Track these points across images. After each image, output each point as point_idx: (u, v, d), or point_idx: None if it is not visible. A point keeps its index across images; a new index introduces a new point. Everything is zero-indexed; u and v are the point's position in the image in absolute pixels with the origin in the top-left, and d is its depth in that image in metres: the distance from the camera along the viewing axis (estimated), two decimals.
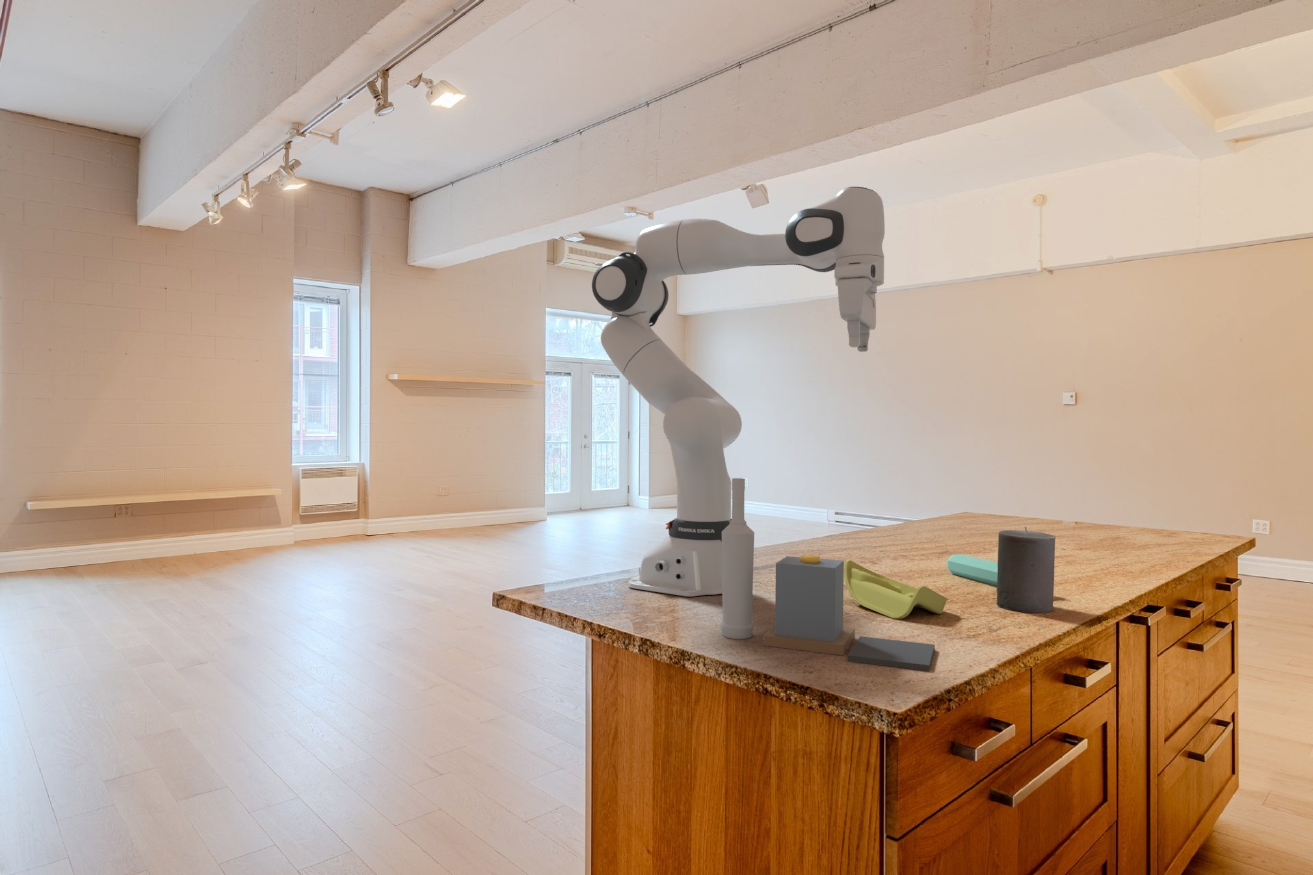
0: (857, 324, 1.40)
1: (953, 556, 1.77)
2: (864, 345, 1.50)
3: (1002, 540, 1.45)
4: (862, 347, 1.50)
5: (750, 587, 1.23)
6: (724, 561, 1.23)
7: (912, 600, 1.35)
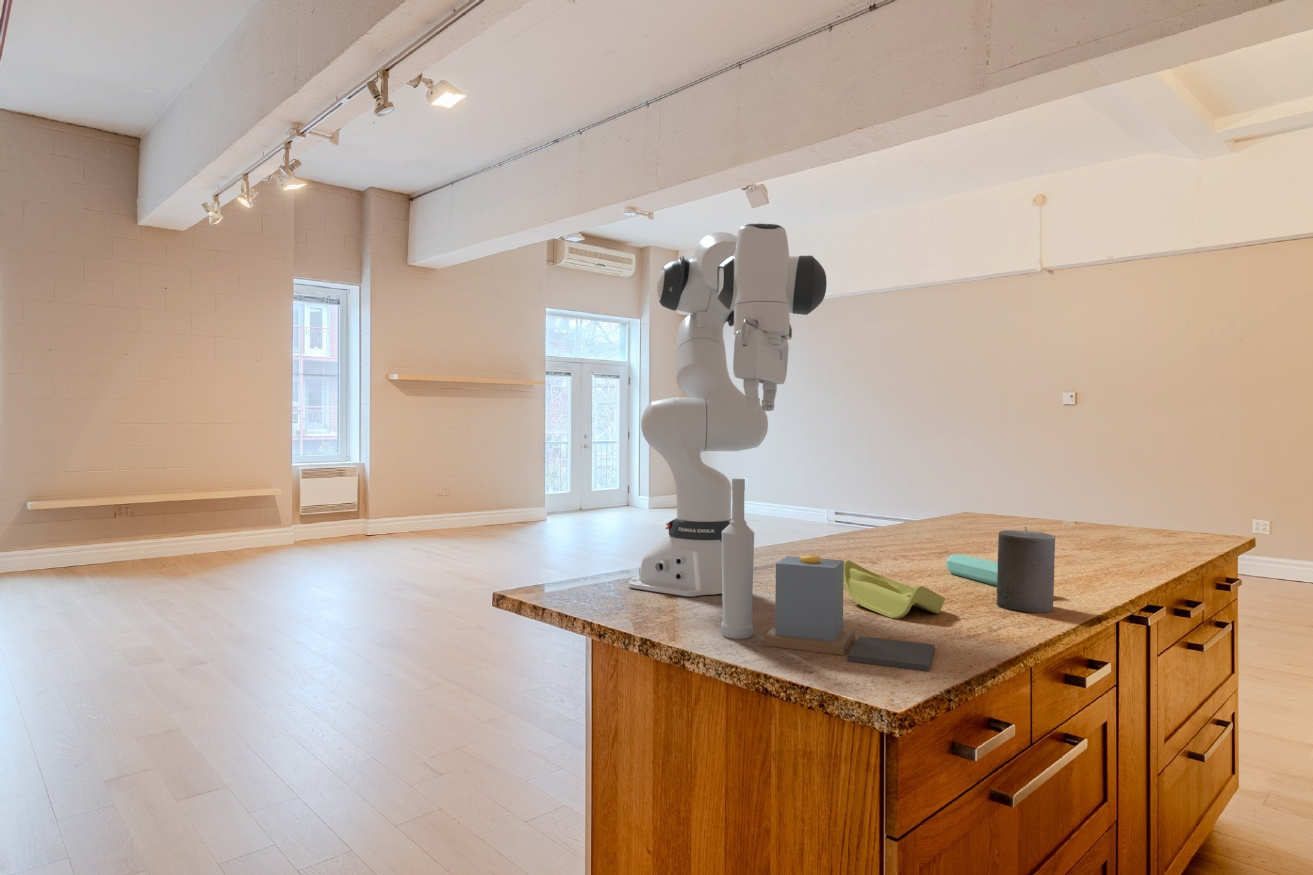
0: None
1: (952, 556, 1.76)
2: None
3: (1002, 540, 1.45)
4: None
5: (750, 587, 1.23)
6: (724, 561, 1.23)
7: (910, 600, 1.35)
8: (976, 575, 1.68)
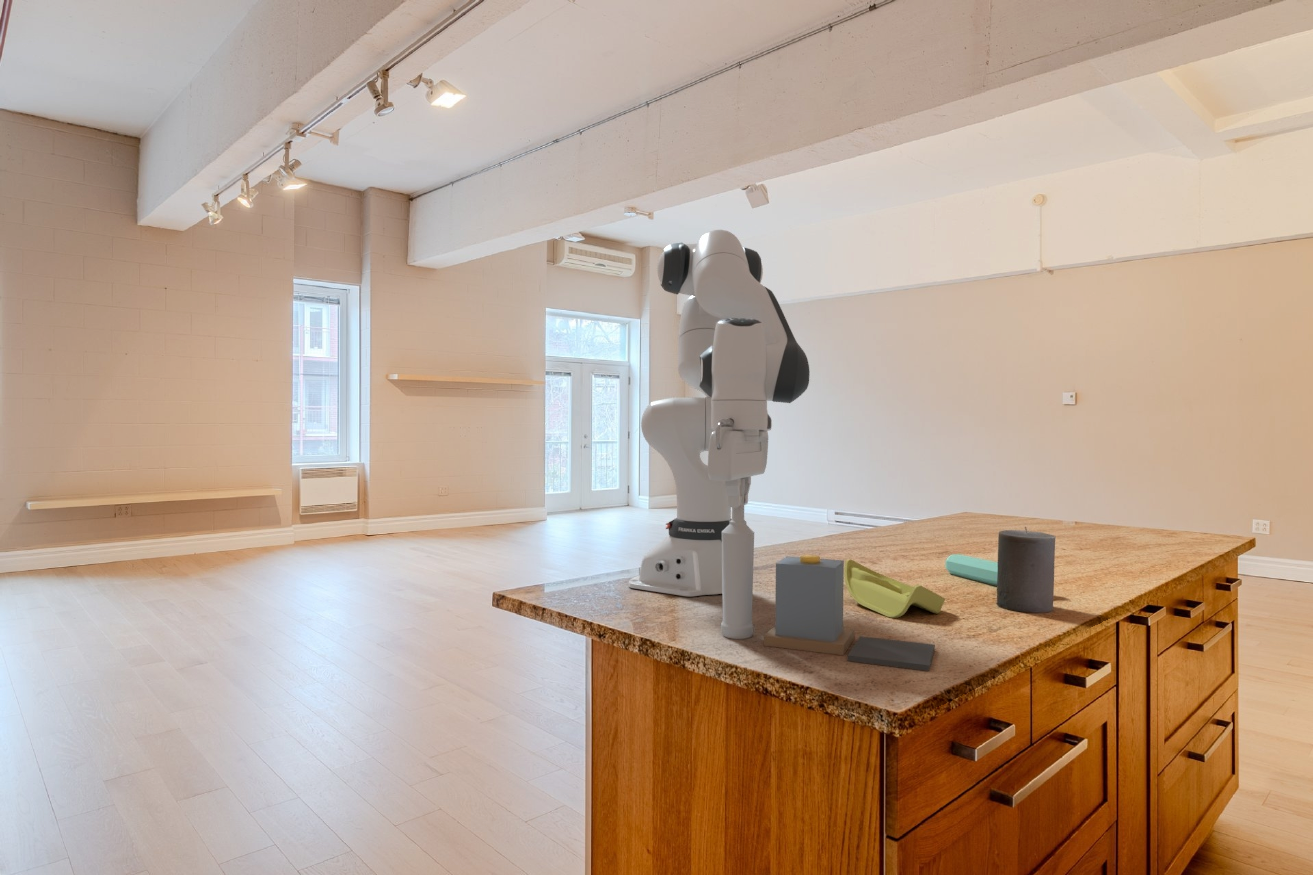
0: None
1: (951, 556, 1.76)
2: None
3: (1002, 540, 1.45)
4: None
5: (750, 587, 1.23)
6: (724, 561, 1.23)
7: (908, 599, 1.36)
8: (976, 575, 1.68)
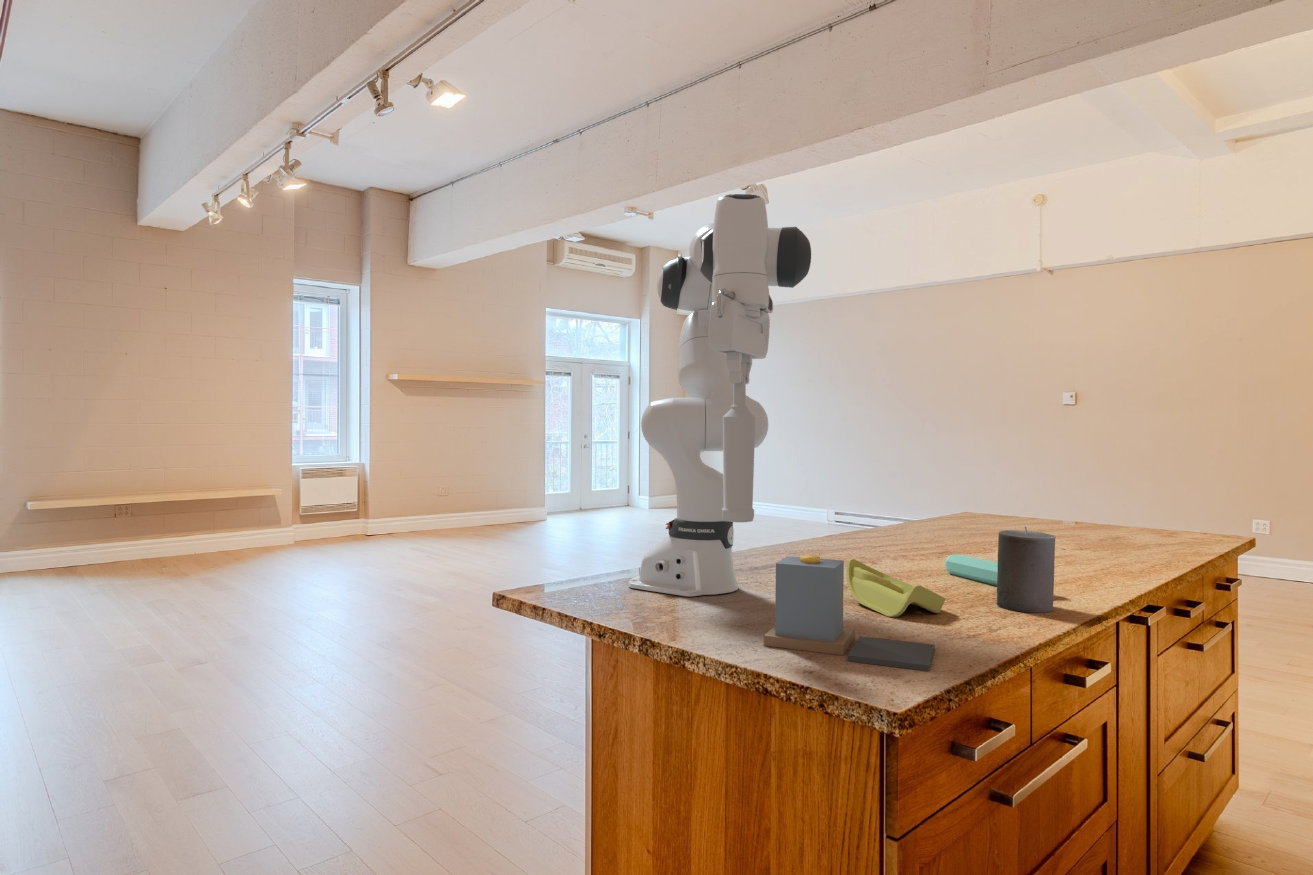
0: None
1: (951, 556, 1.76)
2: None
3: (1002, 540, 1.45)
4: None
5: (751, 471, 1.23)
6: (725, 445, 1.23)
7: (906, 599, 1.36)
8: (976, 575, 1.68)
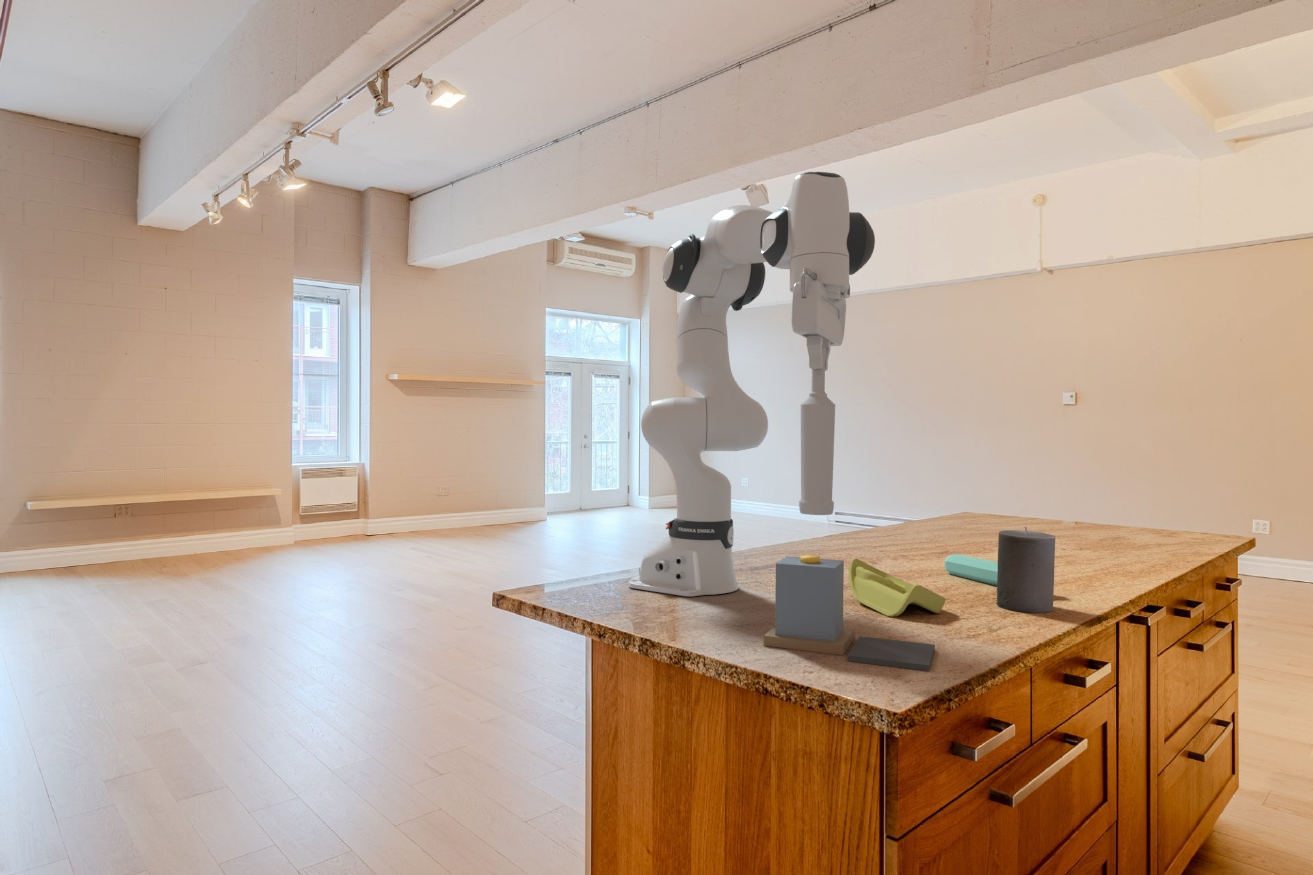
0: None
1: (951, 556, 1.76)
2: None
3: (1002, 540, 1.45)
4: None
5: (831, 461, 1.17)
6: (803, 434, 1.17)
7: (906, 598, 1.36)
8: (976, 575, 1.68)
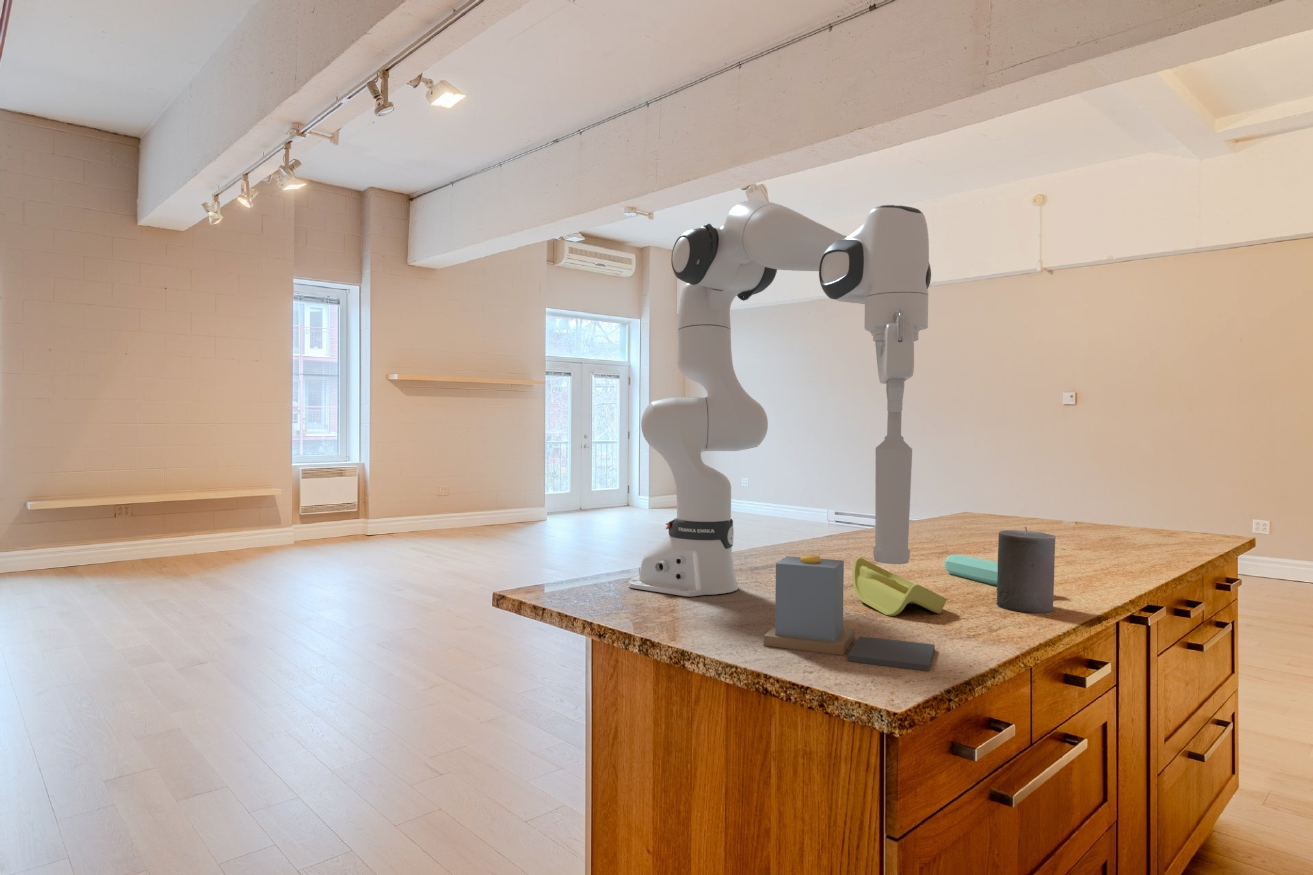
0: None
1: (951, 556, 1.76)
2: None
3: (1002, 540, 1.45)
4: None
5: (909, 508, 1.13)
6: (881, 480, 1.13)
7: (904, 598, 1.37)
8: (976, 575, 1.68)
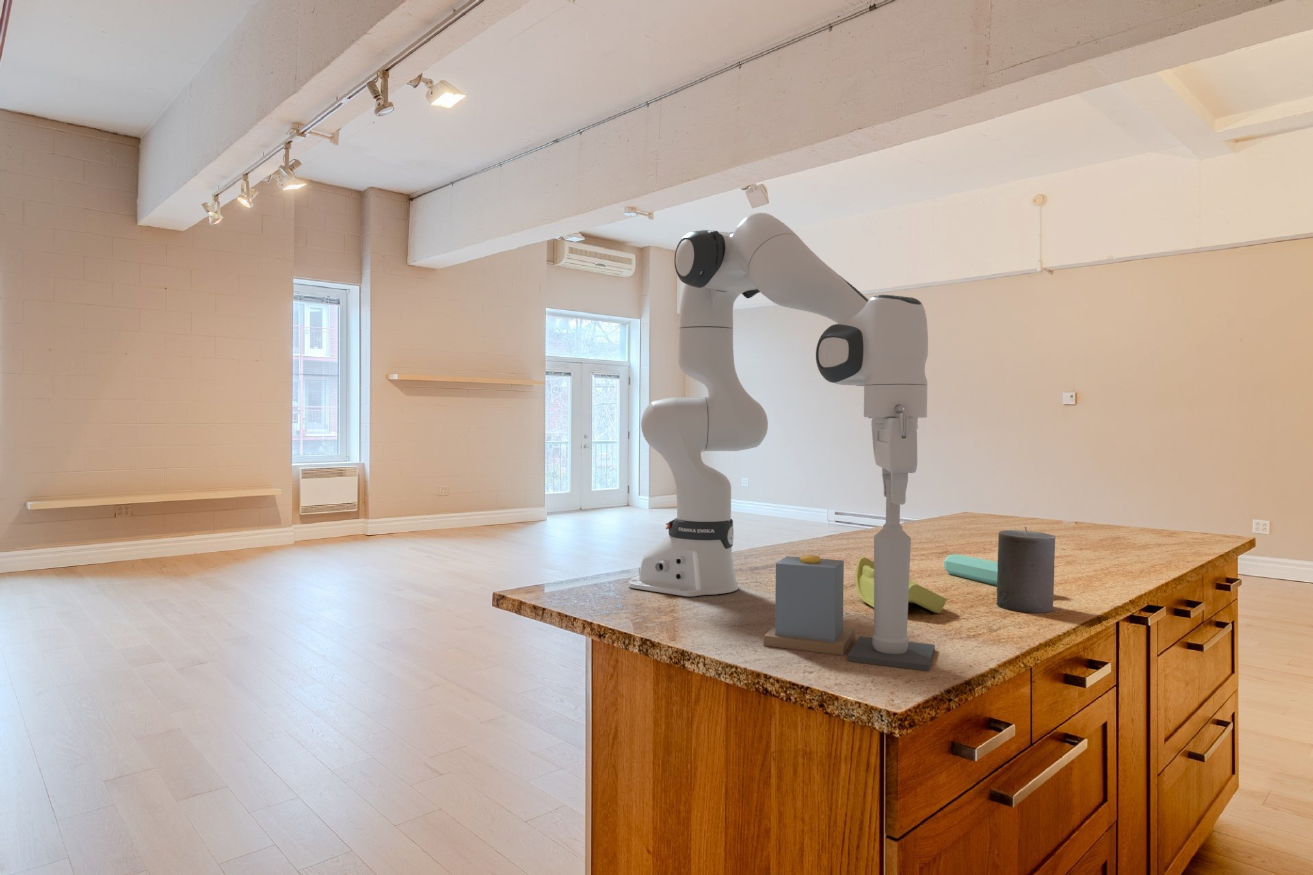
0: None
1: (950, 556, 1.76)
2: None
3: (1002, 540, 1.45)
4: None
5: (907, 597, 1.13)
6: (881, 569, 1.13)
7: None
8: (977, 575, 1.68)
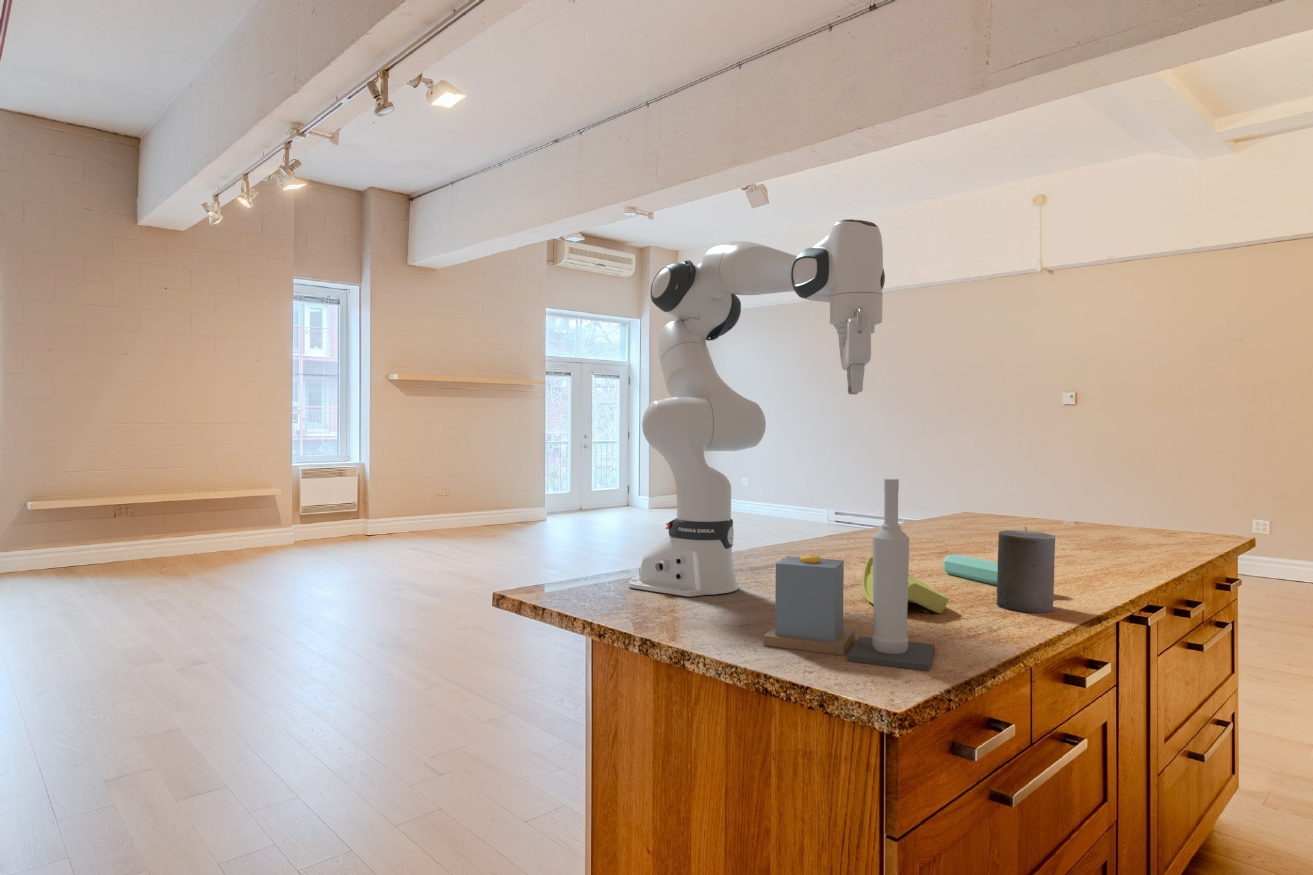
0: None
1: (949, 556, 1.76)
2: None
3: (1002, 540, 1.45)
4: None
5: (907, 597, 1.13)
6: (879, 569, 1.13)
7: None
8: (977, 575, 1.68)
